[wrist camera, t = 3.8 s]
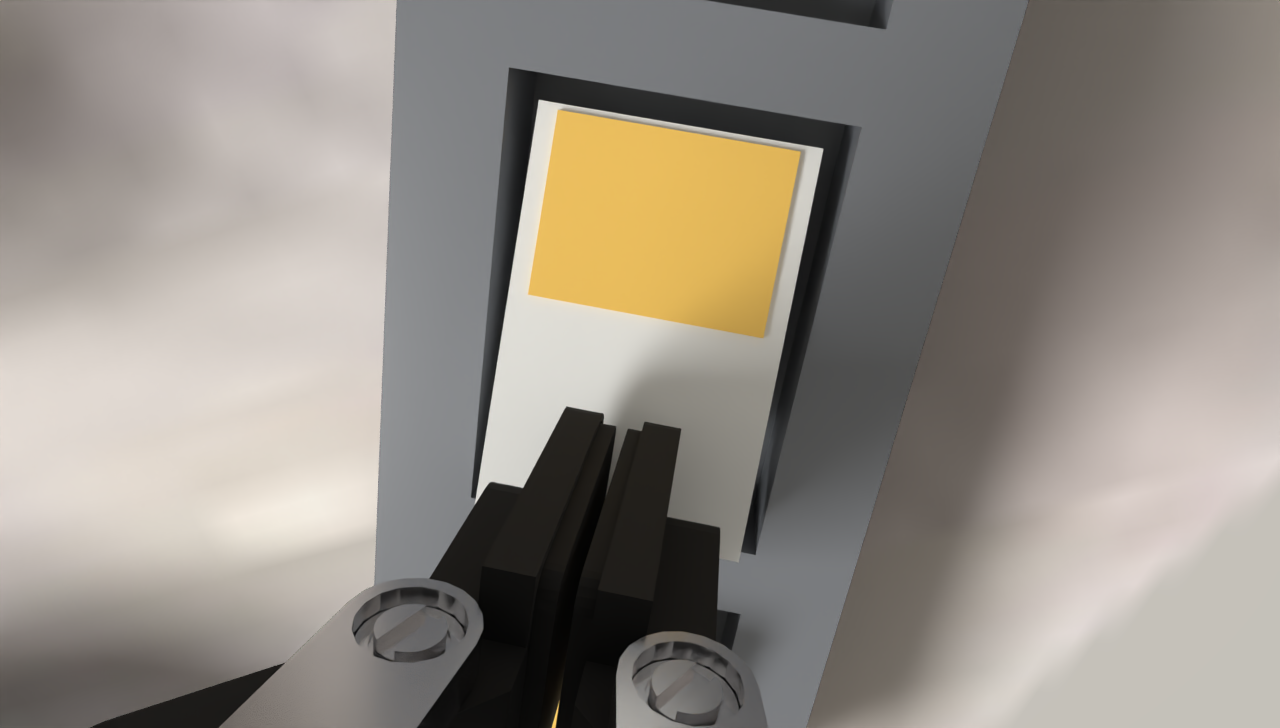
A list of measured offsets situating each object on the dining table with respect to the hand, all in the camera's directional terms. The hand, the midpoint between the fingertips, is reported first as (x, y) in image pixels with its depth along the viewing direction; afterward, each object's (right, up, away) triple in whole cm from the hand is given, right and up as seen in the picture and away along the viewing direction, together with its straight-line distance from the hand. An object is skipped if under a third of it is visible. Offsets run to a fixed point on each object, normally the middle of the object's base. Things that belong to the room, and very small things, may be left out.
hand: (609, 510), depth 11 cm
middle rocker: (0, +3, 0) cm, 3 cm away
